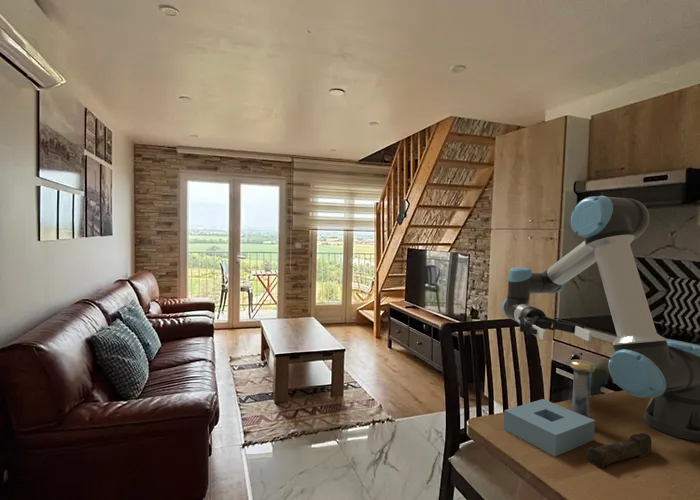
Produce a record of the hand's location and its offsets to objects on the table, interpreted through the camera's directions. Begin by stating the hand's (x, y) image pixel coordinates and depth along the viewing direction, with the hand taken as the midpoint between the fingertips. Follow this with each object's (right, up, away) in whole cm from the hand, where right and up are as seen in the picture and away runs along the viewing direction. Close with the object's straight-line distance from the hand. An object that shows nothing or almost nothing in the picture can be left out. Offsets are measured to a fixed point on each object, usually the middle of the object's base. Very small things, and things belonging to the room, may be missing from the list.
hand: (567, 336), depth 113 cm
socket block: (-13, -22, -14) cm, 29 cm away
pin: (0, -22, -7) cm, 23 cm away
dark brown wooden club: (0, -23, -23) cm, 32 cm away
